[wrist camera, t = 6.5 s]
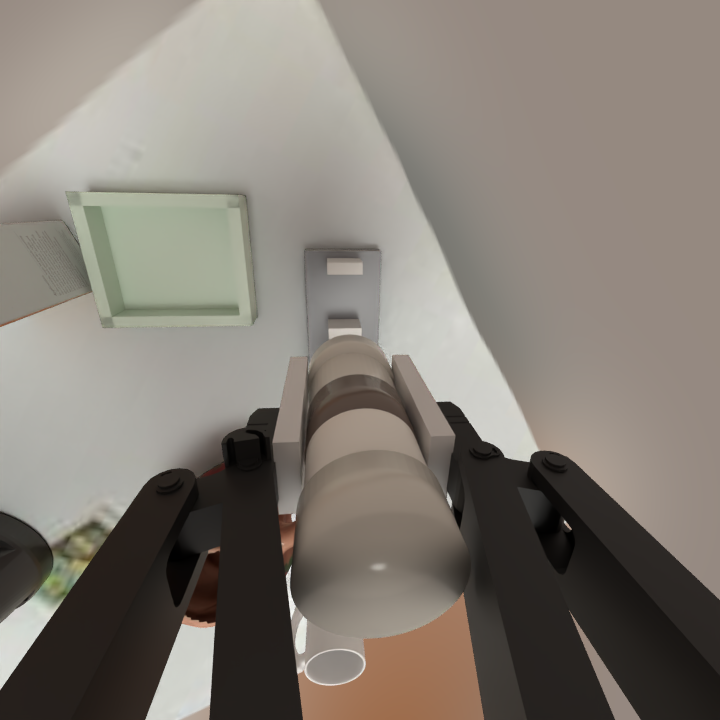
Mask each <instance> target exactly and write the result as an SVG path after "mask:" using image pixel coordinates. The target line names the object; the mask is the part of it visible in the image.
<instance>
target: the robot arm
mask: <svg viewBox="0 0 720 720" xmlns="http://www.w3.org/2000/svg"><path fill="white" fill-rule="evenodd" d="M392 372H393V375H394V378H395V388H396V391H397V393H398V394H399V396H400V398H401V400H402V402H403V405H404V407H405V410H406V412H407V414H408V417H409V419H410V422H411V424H412V427H413V429H414V432H415V434H416V436H417V440H418V443H419V448H420V450H421V453H422V455H423V458H424V460H425V463H426V465H427V467H428V468H429V469H430V470H431V471H432V472H433V473H434V475H435V476H436V477H437V479H438V481H439V483H440V485H441V487H442V490H443V492H444V494H445V497H446V498H447V491H448V493H449V495H450V498H451V500H452V507H451V511H452V513H453V515H454V518H455V520H456V522H457V525H458V527H459V530H460V532H461V534H462V537H463V539H464V541H465V544H466V546H467V548H468V551H469V554H470V558H471V572H470V577H469V580H468V583H467V585H466V587H465V590H464V591H463V592H464V598H465V605H466V610H467V617H468V623H469V629H470V635H471V641H472V647H473V653H474V659H475V665H476V671H477V677H478V683H479V690H480V696H481V702H482V708H483V714H484V720H615V719H614V716H613V714H612V711H611V709H610V707H609V704H608V702H607V700H606V697H605V695H604V692H603V690H602V688H601V685H600V683H599V681H598V678H597V676H596V673H595V671H594V669H593V666H592V664H591V661H590V659H589V657H588V654H587V652H586V650H585V647H584V645H583V642H582V640H581V638H580V635H579V633H578V631H577V628H576V626H575V623H574V621H573V619H572V616H571V614H572V615H573V617H574V618H575V620H576V621H577V623H578V624H579V626H580V627H581V629H582V630H583V632H584V633H585V635H586V636H587V638H588V639H589V641H590V643H591V644H592V646H593V647H594V649H595V650H596V652H597V653H598V655H599V656H600V658H601V659H602V661H603V662H604V664H605V665H606V667H607V669H608V670H609V672H610V673H611V674H612V676H613V678H614V679H615V681H616V682H617V684H618V685H619V687H620V688H621V690H622V691H623V693H624V695H625V696H626V697H627V699H628V701H629V702H630V704H631V705H632V707H633V708H634V710H635V711H636V713H637V714H638V716H639V717H640V719H641V720H720V600H719V599H718V598H717V597H716V596H715V595H714V594H713V593H711V592H710V591H709V590H708V589H707V588H706V587H705V586H704V585H703V584H702V583H701V582H700V581H699V580H698V579H697V578H696V577H695V576H694V575H692V573H691V572H689V571H688V570H687V569H686V568H685V567H684V566H683V565H682V564H681V563H680V562H679V561H678V560H676V558H675V557H674V556H672V554H670V553H669V552H668V551H667V550H666V549H665V548H664V547H663V546H662V545H661V544H660V543H659V542H658V541H657V540H656V539H655V538H654V537H652V536H651V535H650V534H649V533H648V532H647V531H646V530H645V529H644V528H643V527H642V526H641V525H640V524H639V523H638V522H637V521H635V519H634V518H632V517H631V516H630V515H629V514H628V513H627V512H626V511H625V510H624V509H623V508H622V507H621V506H620V505H619V504H618V503H617V502H616V501H614V500H613V498H611V497H610V496H609V495H608V494H607V493H606V492H605V491H604V490H603V489H602V488H601V487H600V486H599V485H598V484H597V483H596V482H595V481H594V480H592V479H591V478H590V477H589V476H588V475H587V474H586V473H585V472H584V471H583V470H582V469H581V468H580V467H579V466H578V465H577V464H576V463H575V462H573V461H572V460H570V459H569V458H568V457H566V456H563V455H561V454H559V453H556V452H552V451H538V452H535V453H534V454H532V455H531V459H530V462H524V461H518V460H512V459H508V458H505V457H504V455H503V453H502V452H501V450H500V449H499V448H497V447H496V446H494V445H493V444H490V443H488V442H484V441H482V440H481V438H480V437H479V435H478V434H477V432H476V431H475V430H474V428H473V427H472V425H471V424H470V423H469V421H468V419H467V418H466V417H465V415H464V414H463V412H462V411H461V409H460V408H459V407H457V406H456V405H454V404H453V403H452V402H436V401H435V400H434V398H433V396H432V394H431V393H430V391H429V389H428V388H427V386H426V384H425V382H424V381H423V379H422V377H421V376H420V374H419V372H418V370H417V369H416V367H415V365H414V364H413V362H412V360H411V359H410V357H409V355H392ZM308 409H309V401H308V358H307V357H291V358H290V362H289V367H288V372H287V376H286V381H285V386H284V391H283V395H282V400H281V405H280V408H262V409H257V410H256V411H255V412H254V413H253V414H252V415H251V416H250V418H249V420H248V423H247V426H246V428H242V429H238V430H235V431H233V432H231V433H229V434H228V435H227V436H226V437H225V438H224V439H223V441H222V443H221V445H222V451H223V457H224V464H225V469H224V470H222V471H220V472H218V473H215V474H212V475H209V476H205V477H201V478H197V479H196V477H195V475H194V473H193V472H191V471H190V470H188V469H180V468H179V469H171V470H167V471H165V472H162V473H159V474H158V475H156V476H154V477H153V478H151V479H150V480H149V481H148V482H147V483H146V484H145V485H144V486H143V488H142V489H141V491H140V492H139V493H138V495H137V496H136V498H135V499H134V501H133V502H132V503H131V505H130V506H129V508H128V509H127V511H126V512H125V513H124V515H123V516H122V518H121V519H120V520H119V522H118V523H117V525H116V526H115V528H114V529H113V530H112V532H111V533H110V535H109V536H108V538H107V539H106V540H105V542H104V543H103V545H102V546H101V548H100V549H99V550H98V552H97V553H96V555H95V556H94V557H93V559H92V560H91V562H90V563H89V565H88V566H87V567H86V569H85V570H84V572H83V573H82V575H81V576H80V577H79V579H78V580H77V582H76V583H75V585H74V586H73V587H72V589H71V590H70V592H69V593H68V594H67V596H66V597H65V599H64V600H63V602H62V603H61V604H60V606H59V607H58V609H57V610H56V612H55V613H54V614H53V616H52V617H51V619H50V620H49V622H48V623H47V624H46V626H45V627H44V629H43V630H42V632H41V633H40V634H39V636H38V637H37V639H36V640H35V641H34V643H33V644H32V646H31V647H30V649H29V650H28V651H27V653H26V654H25V656H24V657H23V659H22V660H21V661H20V663H19V664H18V666H17V667H16V669H15V670H14V671H13V673H12V674H11V676H10V677H9V678H8V680H7V681H6V683H5V684H4V686H3V687H2V688H1V690H0V720H145V719H146V716H147V713H148V711H149V708H150V706H151V703H152V700H153V698H154V695H155V692H156V690H157V687H158V684H159V682H160V679H161V676H162V674H163V671H164V669H165V666H166V663H167V661H168V658H169V655H170V653H171V650H172V647H173V645H174V642H175V639H176V637H177V634H178V632H179V629H180V626H181V624H182V621H183V618H184V616H185V613H186V610H187V608H188V605H189V602H190V600H191V597H192V595H193V592H194V589H195V587H196V584H197V581H198V579H199V576H200V573H201V571H202V568H203V565H204V563H205V560H206V558H207V555H208V551H209V550H210V549H213V548H216V547H219V546H220V557H219V573H218V589H217V605H216V622H215V638H214V654H213V670H212V686H211V702H210V718H209V720H303V717H302V708H301V700H300V692H299V683H298V675H297V667H296V658H295V650H294V642H293V633H292V625H291V617H290V608H289V600H288V592H287V583H286V575H285V567H284V558H283V550H282V542H281V534H280V525H279V517H278V511H279V514H296V510H297V504H298V499H299V497H300V494H301V492H302V490H303V488H304V477H305V461H304V455H305V441H306V427H307V414H308ZM277 508H278V509H277ZM564 520H565V521H566V522H567V523H568V524H569V526H570V527H571V528H572V530H570V529H569V528H568V527H567V526H566V525H565V524H564ZM52 564H53V561H52V555H51V552H50V550H49V548H48V546H47V544H46V543H45V542H44V540H43V539H42V538H41V537H40V536H39V535H38V534H37V533H36V532H35V531H34V530H32V529H31V528H30V527H28V526H27V525H25V524H23V523H22V522H20V521H18V520H16V519H14V518H12V517H9V516H7V515H4V514H1V513H0V623H1V622H2V621H3V620H4V619H6V618H7V617H8V616H9V615H10V614H11V613H12V612H13V611H14V610H15V609H16V608H18V607H20V606H22V605H23V604H25V603H26V602H27V601H28V600H30V599H31V598H32V597H33V596H34V595H35V594H36V592H37V591H38V590H39V588H40V587H41V586H42V584H43V583H44V582H45V580H46V579H47V578H48V576H49V575H50V573H51V570H52ZM569 610H570V612H571V614H570V612H569Z"/></svg>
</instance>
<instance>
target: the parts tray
mask: <svg viewBox="0 0 720 720" xmlns="http://www.w3.org/2000/svg"><path fill="white" fill-rule="evenodd" d="M66 196H67V199H68V203H69V207H70V210H71V214H72V218H73V221H74V225H75V229H76V232H77V236H78V240H79V243H80V247H81V251H82V254H83V258H84V262H85V265H86V269H87V272H88V276H89V280H90V283H91V287H92V291H93V294H94V298H95V302H96V305H97V309H98V313H99V316H100V320H101V324H102V327H103V328H132V327H206V326H252V325H253V324H254V322H255V320H256V319H257V317H258V315H257V305H256V295H255V285H254V275H253V265H252V255H251V244H250V234H249V224H248V214H247V204H246V196H244V195H227V194H173V193H119V192H66Z"/></svg>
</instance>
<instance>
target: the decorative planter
mask: <svg viewBox="0 0 720 720" xmlns="http://www.w3.org/2000/svg"><path fill="white" fill-rule="evenodd" d="M224 469H225V464H224V462H223V463H221V464H219V465H217V466H215V467H214V468H212V469H211V470H209V471H208V472H206V473H204V474H203V475H202V476H201V477H205V476H209V475H212V474H215V473H218V472H220V471H222V470H224ZM201 477H200V478H201ZM277 509H278V508H277ZM278 517H279V525H280V534H281V542H282V550H283V558H284V567H285V575H286V574H287V573H288V571H289V569H290V567H291V565H292V556H293V544H294V533H295V521H294V522H292V520H291V514H279V511H278ZM219 557H220V546H219V547H216V548H213V549H210V550H209V551H208V555H207V558H206V560H205V563H204V565H203V568H202V571H201V573H200V576H199V579H198V581H197V584H196V587H195V589H194V592H193V595H192V597H191V600H190V602H189V605H188V608H187V610H186V613H185V616H184V618H183V621H182V624H186V625H190V626H194V627H200V628H207V627H213V626H215V622H216V605H217V589H218V573H219Z"/></svg>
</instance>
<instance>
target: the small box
mask: <svg viewBox="0 0 720 720" xmlns="http://www.w3.org/2000/svg"><path fill="white" fill-rule="evenodd" d="M90 292H93V291H92V287H91V283H90V280H89V276H88V272H87V269H86V265H85V262H84V258H83V254H82V251H81V248H80V246H79V245H78V243H77V242H76V240H75V239H74V237H73V235H72V234H71V232H70V231H69V229H68V228H67V226H66V225H65V223H64V222H63V221H62V220H54V221H39V222H22V223H0V327H2V326H4V325H7V324H10V323H12V322H15V321H17V320H20V319H23V318H25V317H28V316H30V315H33V314H36V313H38V312H41V311H43V310H46V309H49V308H51V307H54V306H56V305H59V304H61V303H64V302H67V301H69V300H72V299H74V298H77V297H79V296H82V295H85V294H87V293H90Z"/></svg>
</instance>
